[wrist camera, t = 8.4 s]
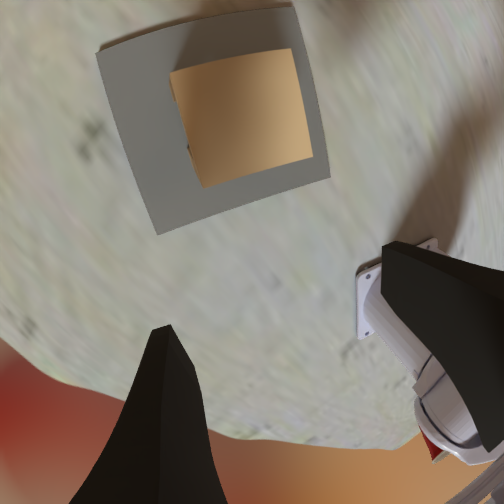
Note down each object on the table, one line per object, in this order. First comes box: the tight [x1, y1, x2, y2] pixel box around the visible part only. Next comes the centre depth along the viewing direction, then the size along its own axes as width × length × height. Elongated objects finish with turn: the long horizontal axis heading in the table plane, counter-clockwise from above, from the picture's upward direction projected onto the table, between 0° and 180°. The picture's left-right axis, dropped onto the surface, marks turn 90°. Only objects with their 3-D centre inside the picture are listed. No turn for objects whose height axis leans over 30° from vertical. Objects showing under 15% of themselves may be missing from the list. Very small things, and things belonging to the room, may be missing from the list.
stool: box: [169, 48, 313, 189], centre depth 12 cm, size 5×5×5 cm
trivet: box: [95, 7, 331, 235], centre depth 15 cm, size 11×11×1 cm
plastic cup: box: [418, 424, 450, 464], centre depth 48 cm, size 11×11×12 cm
